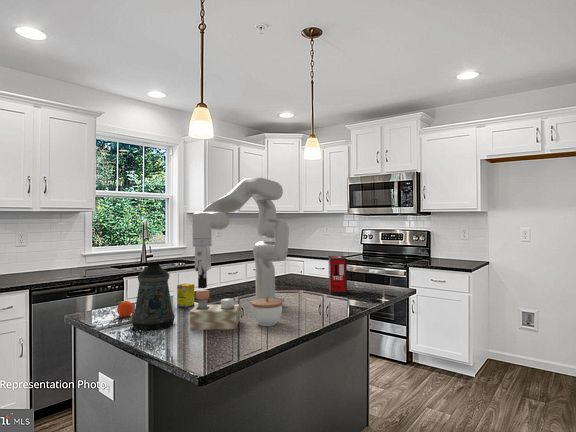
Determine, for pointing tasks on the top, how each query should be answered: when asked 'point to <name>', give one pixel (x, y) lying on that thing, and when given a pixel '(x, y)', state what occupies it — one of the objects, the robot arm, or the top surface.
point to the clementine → (125, 308)
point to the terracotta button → (202, 299)
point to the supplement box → (185, 295)
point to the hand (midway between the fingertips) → (202, 287)
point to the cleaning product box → (337, 275)
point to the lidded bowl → (267, 311)
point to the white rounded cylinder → (227, 303)
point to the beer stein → (153, 300)
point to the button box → (214, 318)
